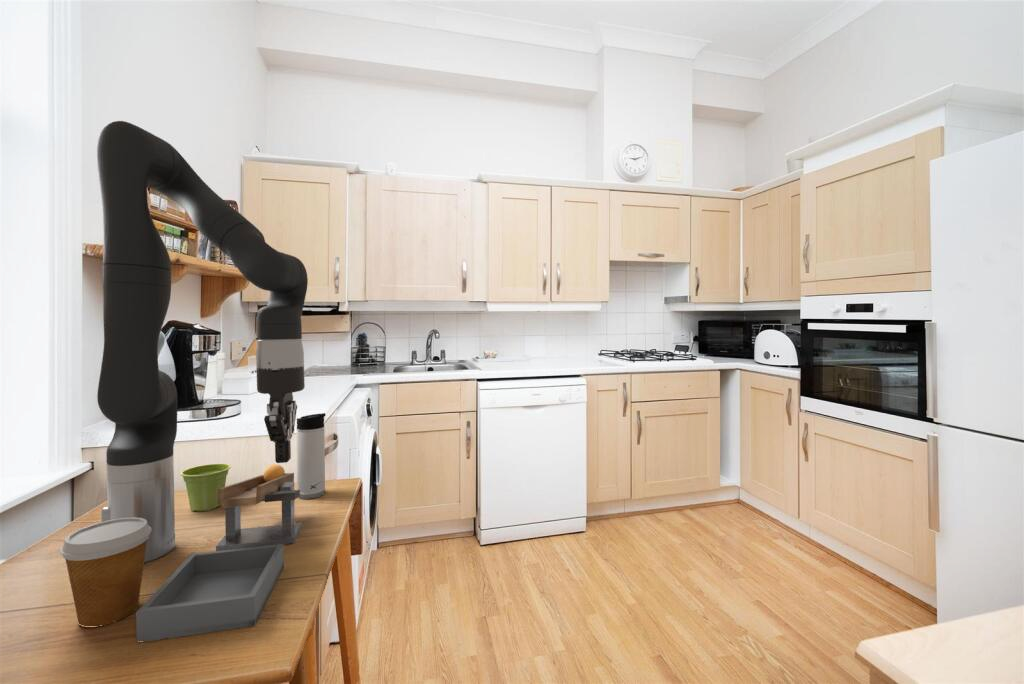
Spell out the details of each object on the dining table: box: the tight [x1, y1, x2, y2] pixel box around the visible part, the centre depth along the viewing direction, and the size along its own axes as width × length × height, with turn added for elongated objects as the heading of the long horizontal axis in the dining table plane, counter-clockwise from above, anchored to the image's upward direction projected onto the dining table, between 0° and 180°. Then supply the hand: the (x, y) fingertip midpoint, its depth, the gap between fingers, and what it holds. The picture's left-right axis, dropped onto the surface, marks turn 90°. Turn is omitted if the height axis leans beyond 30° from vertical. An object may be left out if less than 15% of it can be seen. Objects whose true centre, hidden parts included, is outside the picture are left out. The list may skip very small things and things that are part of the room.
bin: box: [135, 544, 285, 643], centre depth 66 cm, size 14×16×4 cm
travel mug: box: [296, 413, 326, 500], centre depth 109 cm, size 6×7×20 cm
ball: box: [263, 464, 286, 482], centre depth 95 cm, size 4×4×4 cm
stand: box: [215, 481, 303, 551], centre depth 86 cm, size 13×7×10 cm, turn 104°
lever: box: [217, 472, 300, 508], centre depth 86 cm, size 11×24×5 cm, turn 14°
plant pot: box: [180, 463, 232, 512], centre depth 102 cm, size 9×9×9 cm
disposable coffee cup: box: [59, 517, 151, 626], centre depth 63 cm, size 10×10×12 cm
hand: (283, 461), depth 79 cm, fingers closed
